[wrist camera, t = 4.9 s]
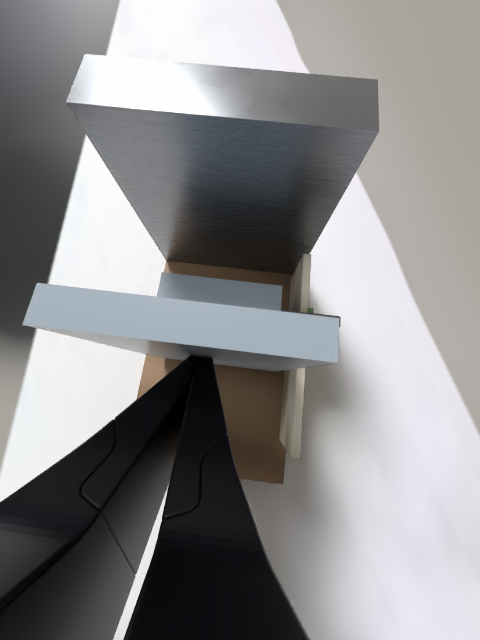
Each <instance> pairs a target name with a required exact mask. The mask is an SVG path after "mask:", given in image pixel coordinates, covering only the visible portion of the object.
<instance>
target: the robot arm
mask: <svg viewBox="0 0 480 640" xmlns="http://www.w3.org/2000/svg"><path fill="white" fill-rule="evenodd" d="M169 481H170V483H169ZM168 483H169V487H168V492H167V497H166V502H165V506H164V511H163V516H162V522H161V525H160V530H159V534H158V538H157V542H156V546H155V550H154V553H153V557H152V560H151V562H150V565H149V568H148V571H147V574H146V577H145V580H144V582H143V585H142V588H141V591H140V594H139V597H138V600H137V602H136V605H135V608H134V611H133V614H132V617H131V620H130V622H129V625H128V628H127V631H126V634H125V637H124V640H310V639H309V637H308V635H307V633H306V631H305V629H304V627H303V625H302V624H301V622H300V620H299V618H298V616H297V614H296V612H295V610H294V608H293V606H292V605H291V603H290V601H289V599H288V597H287V595H286V593H285V591H284V589H283V588H282V586H281V584H280V582H279V580H278V578H277V576H276V574H275V572H274V570H273V568H272V566H271V563H270V561H269V559H268V556H267V554H266V552H265V549H264V546H263V544H262V541H261V539H260V536H259V533H258V530H257V527H256V525H255V522H254V519H253V516H252V513H251V510H250V507H249V504H248V502H247V499H246V496H245V493H244V490H243V487H242V484H241V481H240V478H239V475H238V472H237V468H236V465H235V461H234V457H233V453H232V449H231V445H230V440H229V435H228V431H227V426H226V421H225V416H224V411H223V406H222V401H221V396H220V391H219V387H218V382H217V377H216V372H215V367H214V362H213V359H212V358H211V357H202V358H201V357H200V356H194V355H190V356H189V357H187V358H186V359H185V360H184V361H183V362H181V363H180V364H179V365H178V366H177V367H175V368H174V369H173V370H172V371H171V372H169V373H168V374H167V375H166V376H165V377H163V378H162V379H161V380H160V381H159V382H157V383H156V384H155V385H154V386H153V387H151V388H150V389H149V390H148V391H147V392H145V393H144V394H143V395H142V396H140V397H139V398H138V399H137V400H136V401H134V402H133V403H132V404H131V405H130V406H128V407H127V408H126V409H125V410H124V411H122V412H121V413H120V414H119V415H118V416H116V417H115V420H111V421H110V422H109V423H108V424H107V425H105V426H104V427H103V428H102V429H101V430H99V431H98V432H97V433H96V434H94V435H93V436H92V437H91V438H89V439H88V440H87V441H86V442H84V443H83V444H82V445H80V446H79V447H77V448H76V449H75V450H73V451H72V452H71V453H69V454H68V455H67V456H65V457H64V458H62V459H61V460H60V461H58V462H57V463H55V464H54V465H53V466H51V467H50V468H48V469H47V470H45V471H44V472H43V473H41V474H40V475H38V476H37V477H36V478H34V479H33V480H31V481H30V482H29V483H27V484H26V485H24V486H23V487H21V488H20V489H19V490H17V491H16V492H14V493H13V494H12V495H10V496H9V497H7V498H6V499H4V500H3V501H1V502H0V640H113V638H114V635H115V632H116V630H117V627H118V624H119V621H120V618H121V616H122V613H123V610H124V607H125V604H126V602H127V599H128V596H129V593H130V590H131V588H132V585H133V582H134V579H135V574H136V573H137V570H138V568H139V565H140V562H141V559H142V556H143V554H144V551H145V548H146V545H147V542H148V540H149V537H150V534H151V531H152V528H153V526H154V523H155V520H156V517H157V514H158V511H159V509H160V506H161V503H162V500H163V497H164V495H165V492H166V489H167V486H168Z"/></svg>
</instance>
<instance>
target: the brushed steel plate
mask: <svg viewBox="0 0 480 640" xmlns="http://www.w3.org/2000/svg"><path fill="white" fill-rule="evenodd" d="M66 103H67V105H68V106H69V108H70V109H71V111H72V112H73V114H74V116H75V117H76V119H77V120H78V122H79V123H80V125H81V127H82V128H83V130H84V131H85V133H86V135H87V136H88V138H89V139H90V141H91V142H92V144H93V146H94V147H95V149H96V150H97V152H98V154H99V155H100V157H101V158H102V160H103V161H104V163H105V165H106V166H107V168H108V169H109V171H110V172H111V174H112V176H113V177H114V179H115V180H116V182H117V184H118V185H119V187H120V188H121V190H122V191H123V193H124V195H125V196H126V198H127V199H128V201H129V202H130V204H131V206H132V207H133V209H134V210H135V212H136V214H137V215H138V217H139V218H140V220H141V221H142V223H143V225H144V226H145V228H146V229H147V231H148V232H149V234H150V236H151V237H152V239H153V240H154V242H155V244H156V245H157V247H158V248H159V250H160V251H161V253H162V255H163V256H164V258H165V259H166V261H173V262H182V263H191V264H200V265H209V266H218V267H226V268H235V269H244V270H253V271H262V272H271V273H280V274H289V275H293V274H294V272H295V270H296V268H297V266H298V264H299V262H300V260H301V258H302V256H303V254H310V252H311V250H312V249H313V247H314V245H315V243H316V242H317V240H318V238H319V236H320V235H321V233H322V231H323V229H324V227H325V226H326V224H327V222H328V220H329V219H330V217H331V215H332V213H333V212H334V210H335V208H336V206H337V205H338V203H339V201H340V199H341V198H342V196H343V194H344V192H345V190H346V189H347V187H348V185H349V183H350V182H351V180H352V178H353V176H354V175H355V173H356V171H357V169H358V168H359V166H360V164H361V162H362V161H363V159H364V157H365V155H366V153H367V152H368V150H369V148H370V146H371V145H372V143H373V141H374V139H375V138H376V136H377V134H378V132H379V113H378V112H379V111H378V80H374V79H363V78H351V77H340V76H329V75H318V74H306V73H295V72H283V71H272V70H260V69H249V68H238V67H226V66H215V65H203V64H192V63H180V62H169V61H157V60H146V59H135V58H123V57H112V56H100V55H89V54H85V56H84V58H83V61H82V63H81V66H80V68H79V71H78V73H77V76H76V78H75V81H74V83H73V86H72V88H71V91H70V93H69V96H68V98H67V101H66Z"/></svg>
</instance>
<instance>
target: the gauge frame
mask: <svg viewBox="0 0 480 640" xmlns="http://www.w3.org/2000/svg"><path fill="white" fill-rule="evenodd" d="M310 269H311V254H303V256H302V258H301V260H300V262H299V264H298V266H297V268H296V270H295V272H294V274H293V275H289V274H280V273H271V272H262V271H253V270H244V269H235V268H226V267H218V266H209V265H200V264H191V263H182V262H173V261H166V265H165V270H164V273H173V274H182V275H190V276H199V277H208V278H217V279H226V280H235V281H243V282H252V283H261V284H270V285H279V286H283V287H282V299H281V310H288V311H296V312H305V313H313V309H312V308H308V306H309V287H310ZM183 361H184V360H177V359H169V358H160V357H156V356H151V355H147V354H146V358H145V363H144V367H143V372H142V377H141V381H140V386H139V390H138V395H137V399H138V398H139V397H140V396H142V395H143V394H144V393H145V392H147V391H148V390H149V389H150V388H151V387H153V386H154V385H155V384H156V383H157V382H159V381H160V380H161V379H162V378H163V377H165V376H166V375H167V374H168V373H169V372H171V371H172V370H173V369H174V368H175V367H177V366H178V365H179V364H180V363H181V362H183ZM214 367H215V372H216V377H217V382H218V387H219V391H220V396H221V401H222V406H223V411H224V416H225V421H226V426H227V431H228V435H229V440H230V445H231V449H232V453H233V457H234V461H235V465H236V468H237V472H238V475H239V478H241V479H248V480H255V481H263V482H270V483H277V484H283V480H284V465H285V450H287V452H288V454H289V455H290V457H291V458H295V459H300V456H301V437H302V419H303V400H304V381H305V368H299V369H291V370H284V371H277V372H274V371H266V370H258V369H250V368H241V367H233V366H225V365H217V364H214Z"/></svg>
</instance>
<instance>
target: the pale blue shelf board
mask: <svg viewBox="0 0 480 640" xmlns="http://www.w3.org/2000/svg"><path fill="white" fill-rule="evenodd" d="M282 287H283V286H279V285H270V284H261V283H252V282H243V281H235V280H226V279H217V278H208V277H199V276H190V275H182V274H173V273H164V272H162V275H161V280H160V284H159V289H158V293H157V297H154V296H145V295H137V294H128V293H119V292H111V291H102V290H94V289H85V288H76V287H68V286H59V285H50V284H42V283H37V285H36V288H35V291H34V293H33V296H32V299H31V302H30V305H29V307H28V310H27V313H26V316H25V319H24V322H23V325H26V326H31V327H35V328H39V329H43V330H47V331H51V332H55V333H60V334H64V335H68V336H72V337H76V338H81V339H85V340H89V341H93V342H97V343H101V344H106V345H110V346H114V347H118V348H122V349H126V350H131V351H135V352H139V353H143V354H147V355H151V356H156V357H160V358H169V359H177V360H185V359H186V358H187V357H189V356H190V355H194V356H200V357H201V358H202V357H211V358H212V359H213V362H214V364H217V365H225V366H233V367H241V368H250V369H258V370H266V371H274V372H277V371H284V370H291V369H299V368H306V367H313V366H320V365H327V364H334V363H338V353H339V327H340V317H339V316H331V315H322V314H314V313H305V312H296V311H288V310H281V299H282Z"/></svg>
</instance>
